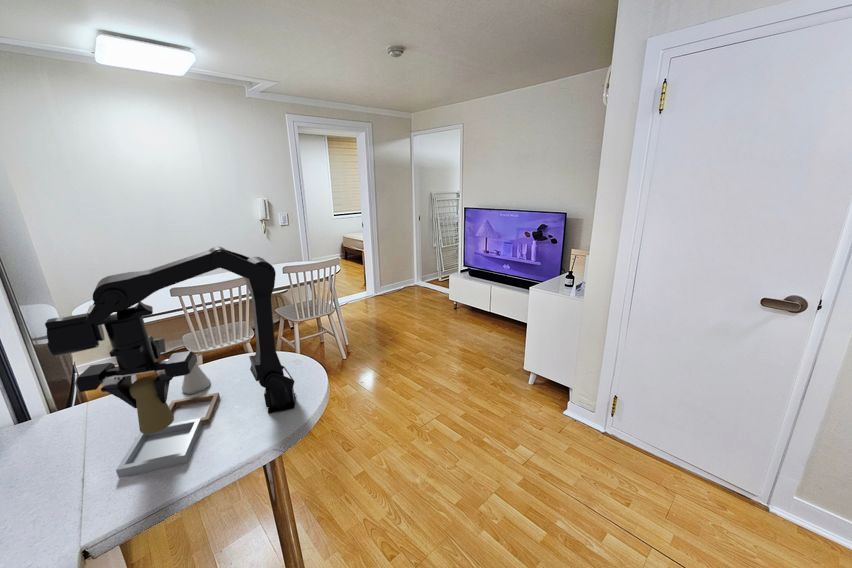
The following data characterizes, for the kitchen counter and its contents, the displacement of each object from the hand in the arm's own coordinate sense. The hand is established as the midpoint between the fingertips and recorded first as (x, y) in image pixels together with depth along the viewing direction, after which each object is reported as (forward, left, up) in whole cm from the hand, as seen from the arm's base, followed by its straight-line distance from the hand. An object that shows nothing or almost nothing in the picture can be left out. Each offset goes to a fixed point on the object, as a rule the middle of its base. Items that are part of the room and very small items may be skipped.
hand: (151, 404), depth 73 cm
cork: (0, 0, -5) cm, 5 cm away
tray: (0, 0, -12) cm, 12 cm away
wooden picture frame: (-2, -11, -12) cm, 17 cm away
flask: (0, -24, -12) cm, 27 cm away
